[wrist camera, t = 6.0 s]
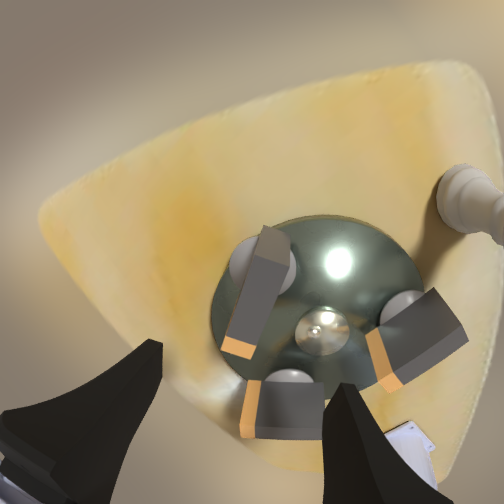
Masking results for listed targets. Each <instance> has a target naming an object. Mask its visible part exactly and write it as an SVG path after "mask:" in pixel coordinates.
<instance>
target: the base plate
mask: <svg viewBox="0 0 504 504" xmlns="http://www.w3.org/2000/svg"><path fill="white" fill-rule="evenodd" d="M271 228H274V229H277V230H280V231H283V232H285V233H288V234H291V235H290V250H291V251H292V253H293V255H294V257H295V260H296V276H295V279H294V281H293V283H292V284H291V286H290V287H289V288H288V289H287V290H286V291H285V292H283V293H282V294H280V295H278V297H277V299H276V301H275V304H274V306H273V308H272V311H271V313H270V315H269V318H268V320H267V322H266V325H265V327H264V329H263V331H262V334H261V336H260V338H259V341H258V343H257V346H256V348H255V351H254V353H253V355H252V357H251V360H250V359H247V358H244V357H240V356H237V355H234V354H231V353H228V352H225V351H222V350H221V347H222V344H223V341H224V338H225V335H226V332H227V328H228V325H229V322H230V319H231V316H232V313H233V310H234V307H235V304H236V301H237V298H238V295H239V293H240V291H241V290H240V289H239V288H238V287H237V286H236V284H235V283H234V282H233V280H232V278H231V275H230V270H229V265H228V266H227V268H226V270H225V272H224V273H223V275H222V277H221V280H220V282H219V284H218V287H217V289H216V292H215V295H214V299H213V304H212V317H211V319H212V328H213V333H214V336H215V340H216V342H217V345H218V347H219V349H220V351H221V353H222V355H223V356H224V358H225V359H226V361H227V362H228V363H229V364H230V366H231V367H232V368H233V369H234V370H235V371H236V372H237V373H238V374H239V375H240V376H242V377H243V378H244V379H246V380H247V381H248V380H258V381H264V380H265V378H266V377H267V376H268V375H269V374H270V373H272V372H274V371H277V370H280V369H288V368H290V369H298V370H301V371H304V372H306V373H307V374H309V375H310V376H311V377H312V379H313V381H314V383H319V382H323V386H324V400H326V399H331V398H332V397H333V395H334V393H335V391H336V390H337V388H338V386H339V385H340V383H341V382H342V383H349V384H355V386H356V388H357V390H358V391H361V390H363V389H365V388H367V387H369V386H371V385H373V384H375V383H376V382H378V380H377V376H376V372H375V369H374V365H373V361H372V358H371V354H370V351H369V347H368V344H367V340H366V337H365V335H366V334H368V333H369V332H371V331H372V330H374V329H375V328H378V327H379V326H380V314H381V311H382V309H383V307H384V306H385V304H386V303H387V302H388V301H389V300H390V299H391V298H392V297H393V296H395V295H396V294H398V293H400V292H402V291H405V290H410V289H416V290H420V291H423V292H424V286H423V283H422V279H421V276H420V274H419V272H418V270H417V268H416V266H415V264H414V262H413V261H412V260H411V258H410V257H409V256H408V254H407V253H406V252H405V251H404V249H403V248H402V247H401V246H400V245H399V244H398V243H397V242H396V241H395V240H394V239H393V238H392V237H390V236H389V235H388V234H386V233H385V232H383V231H382V230H380V229H379V228H377V227H375V226H373V225H371V224H369V223H367V222H363V221H360V220H357V219H354V218H350V217H344V216H338V215H314V216H305V217H300V218H296V219H292V220H288V221H286V222H283V223H280V224H277V225H275V226H273V227H271ZM260 234H261V233H260ZM260 234H259V235H260ZM259 235H257V236H259ZM424 293H425V292H424Z"/></svg>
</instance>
